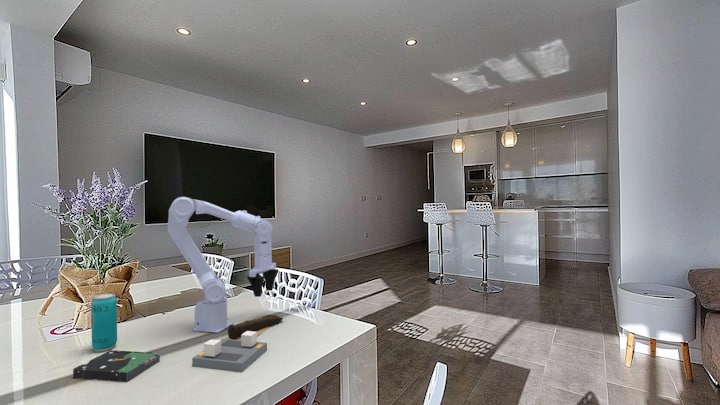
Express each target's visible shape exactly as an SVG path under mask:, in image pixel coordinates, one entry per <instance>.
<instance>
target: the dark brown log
mask: <svg viewBox="0 0 720 405" xmlns="http://www.w3.org/2000/svg"><path fill="white" fill-rule="evenodd" d="M255 319H256V318H255ZM283 319H284V317H281V316H279V315H274V314H269V315H264V316H262V318H260V319H256V320H254V319H253V320H245V321H243V322H242V323H237V324H232V325H230V326H229V327H227V337H228V336H229V337H230V338H231V339H233V340H234V339H235V338H236V337H237V336H240V335H242V334H243V333H245V332H246V331H255V330H259V329H261V328H264V327H267V326H271V327H272V326H275V325H276V324H279V323H280V322H281V321H282V320H283Z"/></svg>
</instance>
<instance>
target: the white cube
mask: <svg viewBox="0 0 720 405" xmlns="http://www.w3.org/2000/svg"><path fill="white" fill-rule="evenodd" d="M203 351H204V356H211V357H215V356H216V355H218V354H219V353H220V352H221V339H209V340H207V341H206V342H204V343H203Z"/></svg>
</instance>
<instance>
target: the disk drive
mask: <svg viewBox="0 0 720 405" xmlns="http://www.w3.org/2000/svg"><path fill="white" fill-rule="evenodd" d="M160 361H161V356H160V355H159V354H158V353H156V352H155V353H154V352H149V351H148V352H144V351H128V350H119V349H118V350H116V349H115V350H112V349H110V350H108V351H105V352H104V353H102V354H101V355H99V356H96V357H94V358H92V359H90V360H89V361H88V362H87V363H86V364H84V363H82V364H80V365H78V366H76V367H74V368H73V370H72V373H73V379H78V378H84V380H94V379H97V380H96V381H107V380H109V381H111V382H123V383H128V382H130V381H131V380H134V379H135V378H137V377H138V376H139V375H141V374H143V373H144V372H146V371H147V370H148V369H150V368H152V367H153V366H155V365H156V364H159V363H160ZM109 381H108V382H109Z"/></svg>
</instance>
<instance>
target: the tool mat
mask: <svg viewBox="0 0 720 405" xmlns="http://www.w3.org/2000/svg"><path fill="white" fill-rule="evenodd" d="M262 317H263V316H259V315H258V316H257V317H256V318H254V319H253V320H256V319H260V318H262ZM271 327H272V326H267V327H264V328H261V329H259V330H255V331H254V332H257V338H258V337H259V336H261V335H262V334H263V333H265V332H266V331H267V330H269V329H270V328H271ZM224 339H231V338H230V337H229V336H228V335H227V337H225V338H224ZM232 340H233V339H232ZM234 340H241V335H240V336H237V337H236V338H235V339H234Z"/></svg>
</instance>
